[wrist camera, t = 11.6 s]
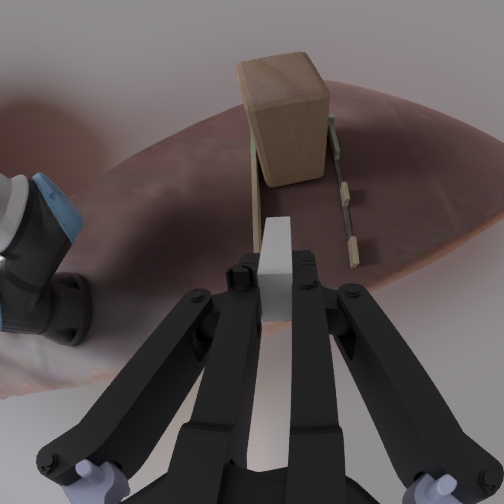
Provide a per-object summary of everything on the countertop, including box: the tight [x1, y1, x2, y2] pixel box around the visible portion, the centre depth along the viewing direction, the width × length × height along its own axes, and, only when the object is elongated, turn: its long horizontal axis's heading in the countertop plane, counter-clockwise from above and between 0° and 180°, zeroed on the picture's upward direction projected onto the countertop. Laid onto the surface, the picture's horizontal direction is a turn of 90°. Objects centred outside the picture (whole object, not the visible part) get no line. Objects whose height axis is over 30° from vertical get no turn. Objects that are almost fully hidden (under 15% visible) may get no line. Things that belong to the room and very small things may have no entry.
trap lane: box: [248, 114, 359, 268], centre depth 42 cm, size 15×26×5 cm, turn 1°
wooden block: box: [235, 52, 330, 188], centre depth 37 cm, size 10×10×20 cm
